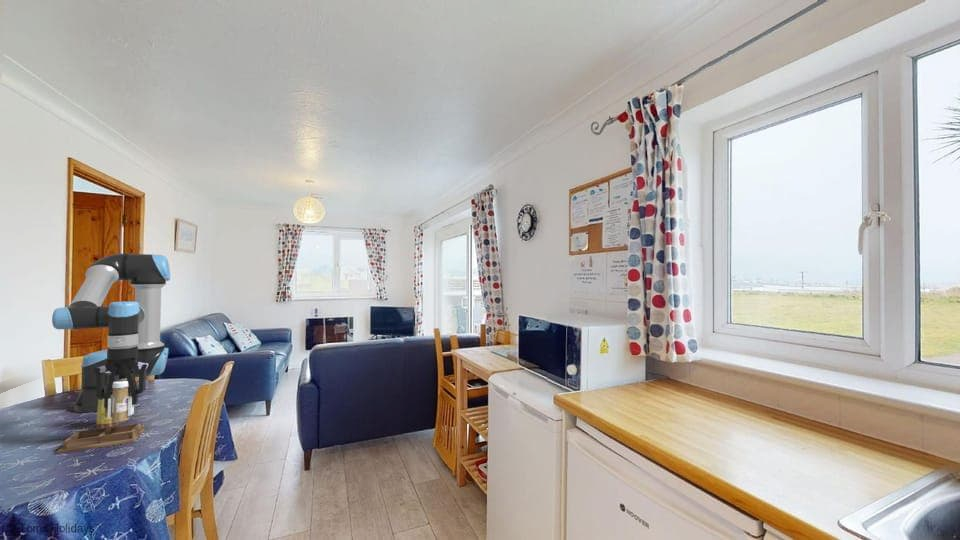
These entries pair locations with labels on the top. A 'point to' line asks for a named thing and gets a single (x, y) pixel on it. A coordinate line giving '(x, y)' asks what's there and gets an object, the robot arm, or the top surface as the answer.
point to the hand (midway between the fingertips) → (120, 415)
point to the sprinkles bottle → (120, 401)
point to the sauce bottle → (102, 411)
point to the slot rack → (102, 437)
